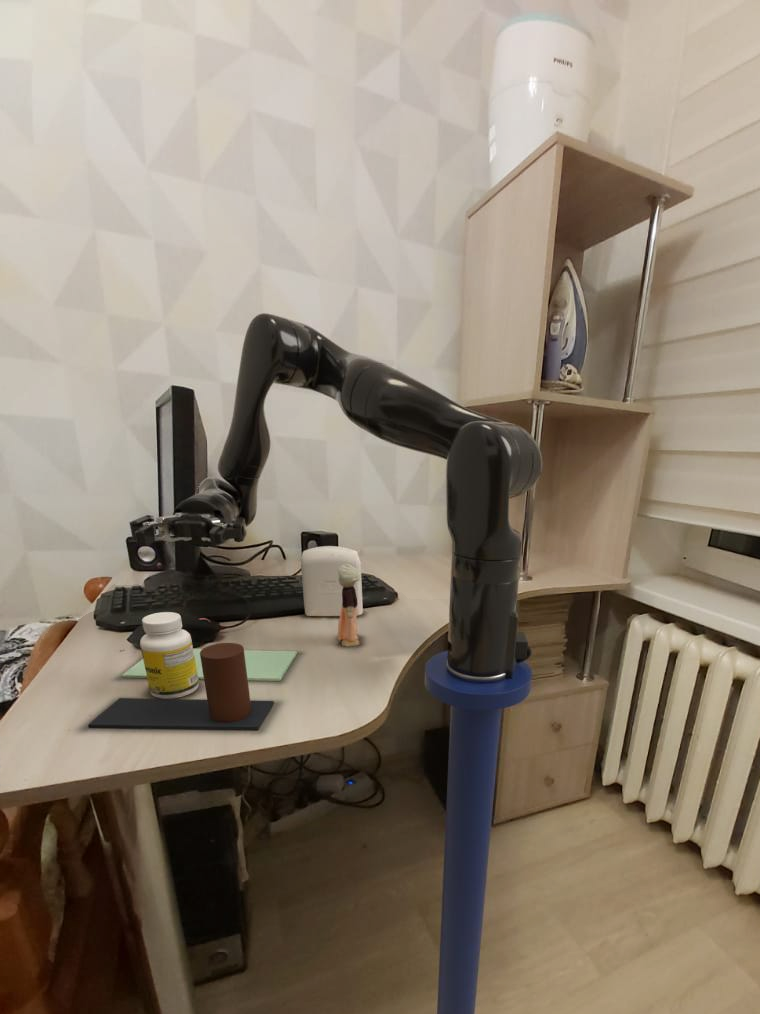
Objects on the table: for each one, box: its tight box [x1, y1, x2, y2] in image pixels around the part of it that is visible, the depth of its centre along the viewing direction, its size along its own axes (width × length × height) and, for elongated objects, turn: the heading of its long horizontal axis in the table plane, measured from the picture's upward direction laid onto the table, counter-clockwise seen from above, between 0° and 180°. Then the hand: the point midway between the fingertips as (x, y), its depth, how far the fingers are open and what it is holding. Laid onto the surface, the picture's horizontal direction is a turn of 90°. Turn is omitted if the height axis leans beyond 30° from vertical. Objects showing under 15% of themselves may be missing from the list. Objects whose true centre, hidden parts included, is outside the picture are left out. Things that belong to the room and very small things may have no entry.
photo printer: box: [300, 545, 364, 617], centre depth 91 cm, size 10×4×12 cm, turn 99°
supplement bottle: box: [139, 611, 200, 699], centre depth 63 cm, size 5×5×10 cm
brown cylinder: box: [200, 642, 251, 723], centre depth 59 cm, size 4×4×8 cm
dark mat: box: [87, 697, 275, 731], centre depth 60 cm, size 18×6×1 cm, turn 94°
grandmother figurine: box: [337, 564, 362, 647], centre depth 80 cm, size 8×4×13 cm, turn 23°
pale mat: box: [121, 648, 298, 682], centre depth 72 cm, size 20×9×1 cm, turn 94°
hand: (178, 539), depth 68 cm, fingers open, 8 cm apart
